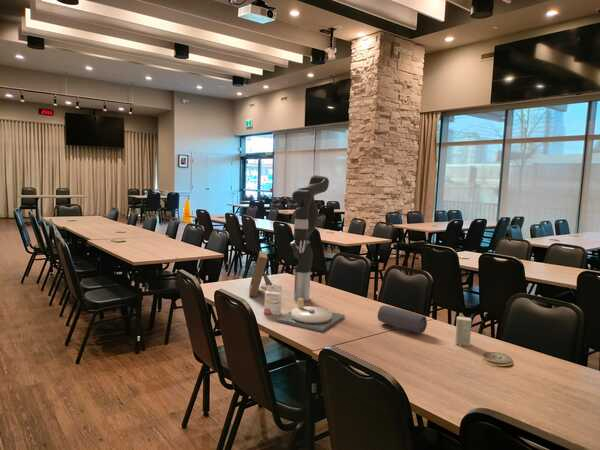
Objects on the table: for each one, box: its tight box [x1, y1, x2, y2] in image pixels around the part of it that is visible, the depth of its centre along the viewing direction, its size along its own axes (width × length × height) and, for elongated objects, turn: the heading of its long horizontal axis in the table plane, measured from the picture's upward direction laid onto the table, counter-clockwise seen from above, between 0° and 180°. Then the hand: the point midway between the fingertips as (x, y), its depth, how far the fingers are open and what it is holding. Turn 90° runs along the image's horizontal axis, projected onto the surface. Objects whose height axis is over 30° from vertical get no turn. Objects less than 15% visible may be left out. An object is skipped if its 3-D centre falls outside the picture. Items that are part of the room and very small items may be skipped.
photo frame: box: [248, 250, 273, 298], centre depth 262 cm, size 15×22×25 cm
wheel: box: [290, 298, 333, 323], centre depth 215 cm, size 21×21×7 cm
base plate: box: [276, 311, 346, 333], centre depth 215 cm, size 26×26×2 cm
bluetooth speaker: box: [377, 304, 428, 334], centre depth 206 cm, size 23×9×10 cm, turn 47°
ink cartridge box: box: [263, 284, 282, 316], centre depth 223 cm, size 9×5×15 cm, turn 84°
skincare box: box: [454, 316, 472, 347], centre depth 189 cm, size 6×4×12 cm
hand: (299, 259), depth 224 cm, fingers closed
